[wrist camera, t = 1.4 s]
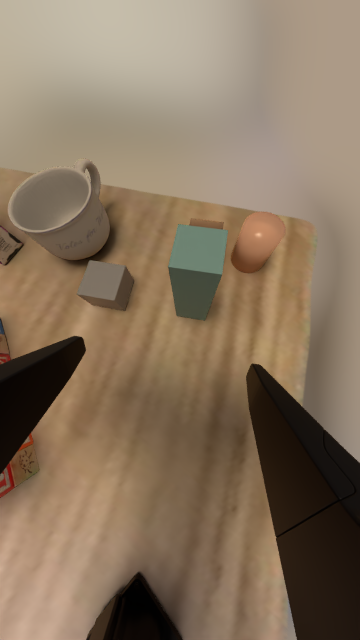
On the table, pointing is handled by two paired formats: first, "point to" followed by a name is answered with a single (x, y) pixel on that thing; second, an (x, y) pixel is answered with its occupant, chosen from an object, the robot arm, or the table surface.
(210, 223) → the walnut cube
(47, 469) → the table surface
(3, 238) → the candy bar box
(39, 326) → the table surface
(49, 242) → the teacup
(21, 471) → the stack of blocks
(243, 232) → the peach rounded cylinder
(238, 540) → the table surface
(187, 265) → the teal block
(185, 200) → the table surface
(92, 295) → the gray block
